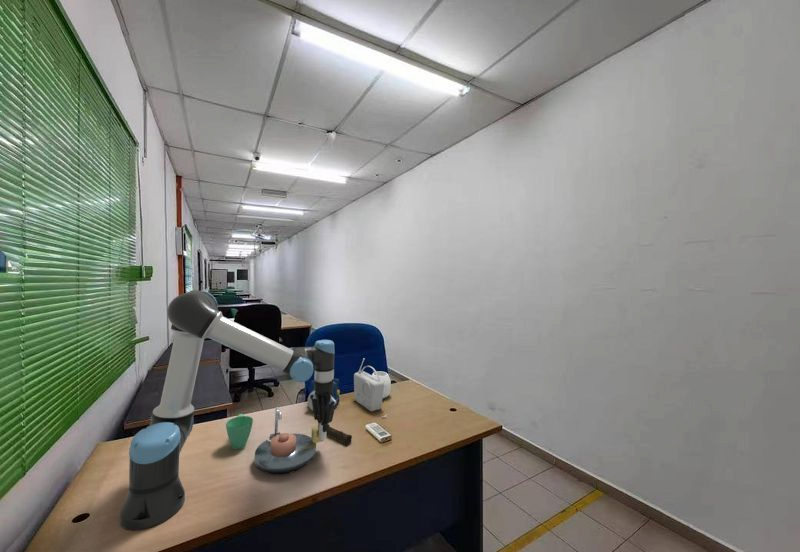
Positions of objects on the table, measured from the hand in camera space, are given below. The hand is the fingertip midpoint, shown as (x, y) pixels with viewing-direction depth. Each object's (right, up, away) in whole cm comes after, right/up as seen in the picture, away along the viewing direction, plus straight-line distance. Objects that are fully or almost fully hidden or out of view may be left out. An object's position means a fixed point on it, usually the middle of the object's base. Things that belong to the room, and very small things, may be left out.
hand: (322, 438), depth 125 cm
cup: (+19, -6, +59) cm, 62 cm away
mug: (-36, -5, +5) cm, 37 cm away
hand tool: (+1, -6, +12) cm, 14 cm away
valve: (-10, -5, +41) cm, 43 cm away
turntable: (-12, -3, -4) cm, 13 cm away
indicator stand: (-21, -5, +8) cm, 23 cm away
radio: (+12, -6, +47) cm, 49 cm away
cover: (-14, -1, -6) cm, 15 cm away
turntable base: (-13, -6, -5) cm, 15 cm away
